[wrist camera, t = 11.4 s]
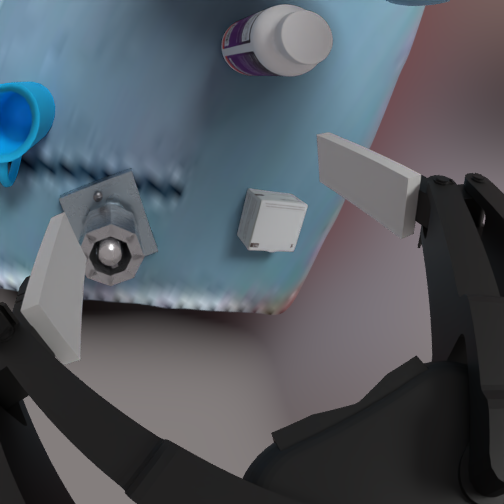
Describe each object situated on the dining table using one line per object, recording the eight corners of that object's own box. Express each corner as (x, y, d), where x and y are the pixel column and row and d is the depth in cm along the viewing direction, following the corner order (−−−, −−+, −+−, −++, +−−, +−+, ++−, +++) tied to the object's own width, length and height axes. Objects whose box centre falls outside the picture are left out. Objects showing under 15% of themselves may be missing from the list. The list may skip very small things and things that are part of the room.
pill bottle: (282, 67, 38) (350, 70, 27) (228, 83, 37) (281, 86, 25) (268, 14, 33) (334, -4, 22) (211, 26, 32) (258, 3, 21)
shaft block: (60, 194, 35) (48, 224, 28) (131, 168, 37) (135, 190, 30) (93, 269, 42) (92, 309, 35) (156, 246, 44) (167, 282, 37)
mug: (4, 80, 25) (-21, 81, 18) (61, 84, 29) (47, 84, 22) (-9, 174, 29) (-32, 196, 23) (45, 178, 33) (30, 201, 27)
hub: (74, 217, 34) (68, 240, 30) (127, 197, 36) (129, 217, 31) (95, 264, 39) (94, 291, 34) (144, 246, 40) (150, 271, 36)
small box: (292, 192, 49) (310, 205, 45) (279, 237, 52) (294, 253, 48) (247, 186, 45) (261, 199, 41) (234, 235, 49) (247, 252, 45)
